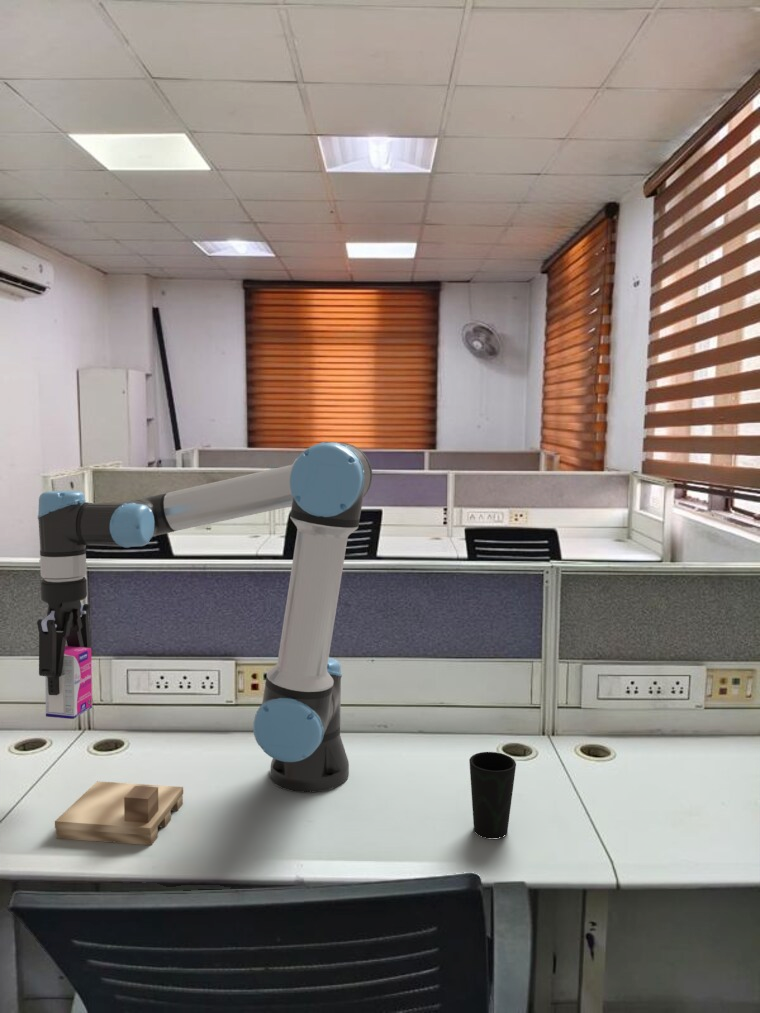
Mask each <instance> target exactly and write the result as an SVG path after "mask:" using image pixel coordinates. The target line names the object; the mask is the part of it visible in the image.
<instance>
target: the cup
mask: <svg viewBox="0 0 760 1013" xmlns="http://www.w3.org/2000/svg"><path fill="white" fill-rule="evenodd" d="M516 768H517V762H516V761H515V760H514V758H512V757H511V756H509V755H508V754H504V753H501V752H495V751H482V752H478V753H475V754H473V755H472V756H470V758H469V775H470V790H471V805H472V819H473V821H472V822H473V823H472V824H473V831H474V833H475V832H476V833H477V834H478V835H477V834H476V833H475V834H476V835H477V836H479V835H480V836H482V837H481V838H483V837H486V838H499V837H503V836H504V835H506V834H507V835H508V830H509V824H510V823H509V822H510V814H511V809H512V808H511V807H512V798H513V791H514V784H515V783H514V782H515V776H516ZM507 835H506V836H507ZM480 836H479V837H480ZM486 838H485V839H486ZM503 838H504V837H503Z"/></svg>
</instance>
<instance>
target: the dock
mask: <svg viewBox="0 0 760 1013" xmlns="http://www.w3.org/2000/svg"><path fill="white" fill-rule="evenodd" d="M134 786H146V787H158V812H157V813H156V814H155V815H154V817H153V818H152V819H151V820H150V822H149V823H144V822H130V821H125V817H124V797H125V796H126V795H127V794H128V793H129V792H130V791H131V790H132V788H133V787H134ZM183 795H184V786H173V785H172V786H171V785H158V784H157V785H156V784H145V783H142V784H141V783H130V782H129V783H127V782H126V783H125V782H112V781H100V780H99V781H96V782H95V783H94V784H93V785H92V786H91V787H89V788H88V790H86V791H85V792H84V793H83V794H82V795H80V797H78V799H76V801H74V802H73V803H72V804H71V805H70V807H68V808H67V809H66V810H65V811H64V812H63V813H62V814H61V815H60V816H59V817H57V818H56V820H55V821H54V829H55V836H56V839H63V840H64V839H67V840H77V841H91V842H105V843H117V844H118V843H119V844H131V845H132V844H133V845H144V846H152V845H153V844H154V843H155V841H156V840H157V839H158V836H159V834H158V828H166V827H167V825H169V823H170V822H171V820H172V814H171V813H172V812H171V811H174V812H177V811H179V809H180V808H181V807H182V806H183V804H184V803H183V801H184V800H183V799H184V796H183Z"/></svg>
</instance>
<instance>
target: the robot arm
mask: <svg viewBox="0 0 760 1013" xmlns="http://www.w3.org/2000/svg"><path fill="white" fill-rule="evenodd" d="M372 481H373V469H372V464H371V463H370V460H369V458H368V457H367V455H366V454H365V453H364V452H363V451H362V450H361V449H360V448H358V447H356V446H355V445H353V444H350V443H347V442H346V443H345V442H337V441H335V442H334V441H333V442H332V441H324V442H319V443H316V444H313V445H311V446H309V448H307V449H306V450H304V451H303V452H302V453H301V454H300V455H298V457H296V458H295V460H294V461H293V463H292V464H289V465H284V466H281V467H276V468H272V469H267V470H264V471H258V472H254V473H250V474H246V475H240V476H236V477H233V478H228V479H223V480H218V481H214V482H211V483H209V482H208V483H205V484H201V485H196V486H192V487H187V488H183V489H178V490H174V491H169V492H167V493H161V494H160V493H159V494H156V495H151V496H146V497H142V498H137V499H133V500H127V501H126V500H125V501H119V502H111V503H110V502H109V503H108V502H105V503H104V502H100V503H98V502H97V503H96V502H94V503H93V502H88V501H87V502H86V497H85V494H84V492H83V491H80V490H49V491H44V492H42V493H41V494H40V495H39V497H38V513H37V514H38V515H37V521H38V534H39V555H40V557H39V564H40V577H41V578H42V580H41V581H40V598H41V601H42V602H44V603H46V604H47V605H48V606H47V607H48V608H47V613H46V615H47V616H46V617H45V618H43V619H42V618H39V619H38V620H37V622H36V625H37V630H38V675H39V676H40V677H45V676H47V678H48V699H49V712H65V711H66V701H65V675H61V674H62V667H63V659H64V652H65V646H72V647H84V648H91V647H92V646H91V633H90V632H91V630H90V610H91V609H90V607H91V606H90V603H82V602H81V601H83V600H85V599H86V598H87V597H88V588H87V587H88V586H87V585H88V583H87V582H88V581H87V578H86V577H85V576H86V575H87V554H86V553H87V548H86V547H87V546H98V547H99V546H100V547H101V546H103V547H104V546H105V547H106V546H107V547H123V548H125V549H126V548H127V549H129V548H131V547H145V546H146V545H147V544H149V543H150V540H152V539H153V537H155V536H161V535H166V534H169V533H174V532H177V531H182V530H183V531H184V530H187V529H191V528H197V527H201V526H205V525H206V526H207V525H211V524H214V523H221V522H223V521H229V520H233V519H234V520H235V519H239V518H243V517H249V516H253V515H258V514H262V513H266V512H272V511H276V510H281V509H286V508H290V507H291V510H290V515H289V516H290V517H289V518H290V520H291V521H292V523H293V524H294V526H295V527H296V529H297V530H296V538H295V543H294V549H293V557H292V563H291V564H292V565H291V570H290V577H289V585H288V590H287V598H286V604H285V610H284V616H283V617H284V618H283V623H282V631H281V637H280V643H279V650H278V656H277V663H276V664H274V665H273V667H271V668H270V669H268V670H267V672H266V676H265V683H264V690H263V694H262V695H263V696H262V702H261V705H260V706H259V708H258V710H257V711H256V714H255V716H254V720H253V724H252V725H253V727H252V728H253V730H252V732H253V735H254V739H255V741H256V743H257V745H258V747H260V749H261V750H262V751H263V752H264V753H265V754H266V755H267V756H269V757H270V758H271V759H272V760H271V763H270V780H271V782H272V783H273V784H274V785H275V786H277V787H279V788H281V789H284V790H287V791H290V792H296V793H297V792H298V793H319V792H324V791H329V790H333V789H335V788H337V787H339V786H341V785H342V784H344V783H345V782H346V781H347V780H348V778H349V776H350V775H349V774H350V763H349V759H348V755H347V752H346V749H345V746H344V743H343V740H342V736H341V706H342V704H341V702H342V701H341V700H342V699H341V698H342V697H341V694H342V693H341V691H342V690H341V688H342V685H341V684H342V682H341V681H342V676H343V674H342V671H341V670H342V669H341V667H342V666H341V664H340V662H339V661H338V660H337V659H335V658H333V657H330V651H331V645H332V639H333V633H334V626H335V620H336V615H337V614H336V613H337V606H338V601H339V593H340V587H341V582H342V577H343V568H344V563H345V557H346V556H345V555H346V551H347V550H346V549H347V543H348V538H349V536H350V535H351V534H352V533H354V532H355V531H356V530H358V529H359V525H360V518H361V513H362V507H363V500H364V497H365V496H366V495H367V494H368V492H369V490H370V489H371V484H372ZM66 644H67V645H66ZM91 649H92V648H91Z"/></svg>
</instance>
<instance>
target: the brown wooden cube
mask: <svg viewBox="0 0 760 1013" xmlns="http://www.w3.org/2000/svg"><path fill="white" fill-rule="evenodd" d="M157 812H158V787H146V786H134V787H133V788H132V790H131V791H130V792H129V793H128V794H127V795H126V796H125V797H124V817H125V821H130V822H144V823H149V822H150V820H151V819H152V818H153V817H154V815H155V814H156V813H157Z"/></svg>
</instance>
